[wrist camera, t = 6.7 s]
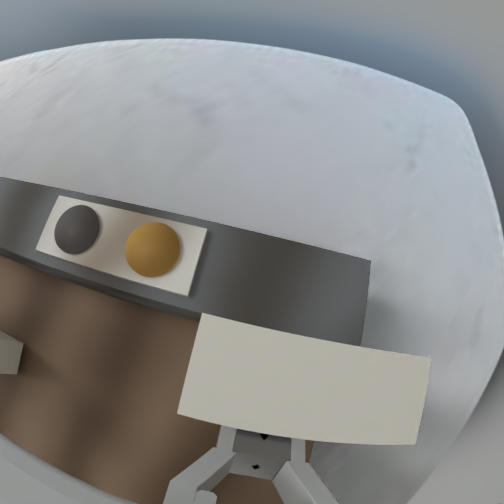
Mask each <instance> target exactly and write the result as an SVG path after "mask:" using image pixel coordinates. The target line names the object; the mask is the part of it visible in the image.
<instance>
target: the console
mask: <svg viewBox="0 0 504 504" xmlns="http://www.w3.org/2000/svg"><path fill="white" fill-rule="evenodd" d="M370 264H371V261H370V260H366V259H362V258H358V257H354V256H350V255H346V254H342V253H338V252H334V251H330V250H326V249H322V248H318V247H314V246H310V245H306V244H302V243H298V242H294V241H290V240H286V239H282V238H278V237H274V236H269V235H265V234H261V233H257V232H253V231H249V230H244V229H240V228H236V227H232V226H227V225H223V224H219V223H214V222H210V221H206V220H202V219H197V218H193V217H188V216H184V215H180V214H175V213H171V212H166V211H162V210H157V209H153V208H148V207H144V206H139V205H135V204H130V203H126V202H121V201H116V200H112V199H107V198H102V197H98V196H93V195H88V194H83V193H79V192H74V191H69V190H64V189H59V188H54V187H49V186H44V185H39V184H34V183H29V182H24V181H19V180H14V179H9V178H4V177H0V330H1V331H2V332H4V333H6V334H7V335H9V336H11V337H13V338H15V339H16V340H18V341H20V342H22V343H24V344H23V348H22V353H21V357H20V362H19V367H18V372H17V374H0V433H2V434H3V435H4V436H6V437H7V438H9V439H10V440H12V441H13V442H15V443H16V444H18V445H19V446H21V447H22V448H24V449H26V450H27V451H29V452H30V453H32V454H34V455H35V456H37V457H39V458H40V459H42V460H44V461H46V462H47V463H49V464H51V465H53V466H54V467H56V468H58V469H60V470H62V471H64V472H66V473H68V474H70V475H72V476H74V477H76V478H78V479H80V480H82V481H84V482H86V483H88V484H90V485H93V486H95V487H97V488H99V489H102V490H104V491H106V492H109V493H111V494H114V495H116V496H119V497H121V498H124V499H127V500H129V501H132V502H135V503H138V504H163V502H164V499H165V496H166V492H167V489H168V486H169V483H170V480H172V479H173V478H174V477H176V476H177V475H178V474H180V473H181V472H182V471H184V470H185V469H186V468H188V467H189V466H190V465H192V464H193V463H194V462H195V461H197V460H198V459H199V458H200V457H202V456H203V455H204V454H206V453H207V452H208V451H209V450H210V449H212V448H213V447H215V448H216V444H217V439H218V435H219V432H220V428H221V425H219V424H215V423H211V422H207V421H203V420H199V419H195V418H191V417H188V416H184V415H180V414H177V411H178V407H179V403H180V399H181V394H182V390H183V386H184V382H185V378H186V374H187V370H188V366H189V362H190V358H191V354H192V350H193V346H194V342H195V338H196V334H197V330H198V327H199V323H200V319H201V315H202V313H206V314H209V315H213V316H217V317H221V318H225V319H229V320H234V321H238V322H242V323H246V324H250V325H255V326H259V327H264V328H268V329H273V330H277V331H282V332H286V333H291V334H296V335H301V336H306V337H311V338H316V339H321V340H326V341H332V342H337V343H342V344H348V345H354V346H360V344H361V338H362V331H363V324H364V317H365V310H366V302H367V293H368V284H369V275H370ZM313 443H314V441H313V440H305V463H308V462H309V458H310V454H311V451H312V447H313ZM209 492H213V493H214V494H215V495H216V496H217V499H216V504H284V502H283V501H282V499H281V497H280V495H279V493H278V491H277V489H276V487H275V486H274V484H273V482H272V480H269V479H263V478H257V477H252V476H246V475H239V474H233V473H228V474H227V475H226V476H225V477H224V478H223V479H222V480H221V481H220V482H219V483H218V484H217V485H216V486H215V487H214V488H213V489H212V490H210V491H209Z"/></svg>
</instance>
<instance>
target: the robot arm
mask: <svg viewBox="0 0 504 504" xmlns="http://www.w3.org/2000/svg"><path fill="white" fill-rule="evenodd" d="M228 473H233V474H239V475H246V476H252V477H257V478H263V479H269V480H272V482H273V484H274V486H275V487H276V489H277V491H278V493H279V495H280V497H281V499H282V501H283V502H284V504H339V503H338V502H337V500H336V499H335V498H334V496H333V495H332V494H331V492H330V491H329V490H328V488H327V487H326V486H325V484H324V483H323V482H322V480H321V479H320V478H319V476H318V475H317V473H316V472H315V471H314V469H313V468H312V466H311V465H310V464H309V463H305V440H304V439H296V438H289V437H282V436H276V435H269V434H264V433H258V432H252V431H247V430H242V429H237V428H233V427H228V426H224V425H221V428H220V432H219V435H218V439H217V444H216V448H215V447H213V448H212V449H210V450H209V451H208V452H207V453H206V454H204V455H203V456H202V457H200V458H199V459H198V460H197V461H195V462H194V463H193V464H192V465H190V466H189V467H188V468H186V469H185V470H184V471H182V472H181V473H180V474H178V475H177V476H176V477H174V478H173V479H172V480H170V483H169V486H168V489H167V492H166V496H165V499H164V502H163V504H216V499H217V496H216V495H215V494H214V493H213V492H209V491H210V490H212V489H213V488H214V487H215V486H216V485H217V484H218V483H219V482H220V481H221V480H222V479H223V478H224V477H225V476H226V475H227V474H228ZM0 504H138V503H135V502H132V501H129V500H127V499H124V498H121V497H119V496H116V495H114V494H111V493H109V492H106V491H104V490H102V489H99V488H97V487H95V486H93V485H90V484H88V483H86V482H84V481H82V480H80V479H78V478H76V477H74V476H72V475H70V474H68V473H66V472H64V471H62V470H60V469H58V468H56V467H54V466H53V465H51V464H49V463H47V462H46V461H44V460H42V459H40V458H39V457H37V456H35V455H34V454H32V453H30V452H29V451H27V450H26V449H24V448H22V447H21V446H19V445H18V444H16V443H15V442H13V441H12V440H10V439H9V438H7V437H6V436H4V435H3V434H2V433H0Z"/></svg>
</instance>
